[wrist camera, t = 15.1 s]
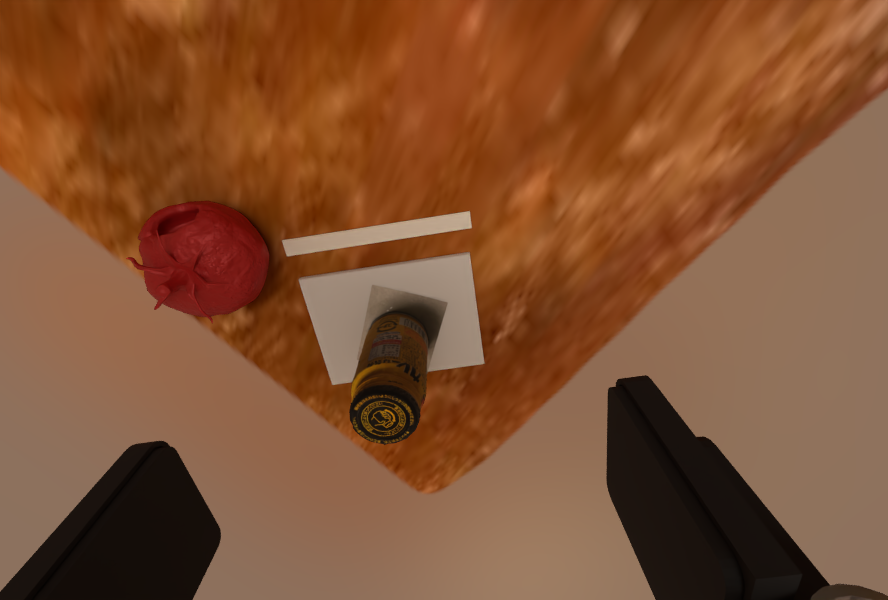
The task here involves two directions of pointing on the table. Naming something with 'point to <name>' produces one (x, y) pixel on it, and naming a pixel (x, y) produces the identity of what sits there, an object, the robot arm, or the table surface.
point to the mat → (346, 301)
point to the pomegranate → (202, 258)
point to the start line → (377, 233)
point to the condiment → (394, 363)
